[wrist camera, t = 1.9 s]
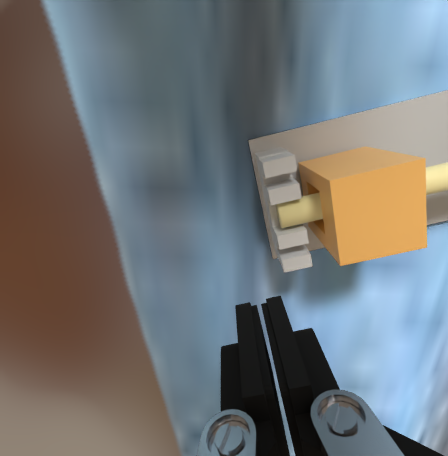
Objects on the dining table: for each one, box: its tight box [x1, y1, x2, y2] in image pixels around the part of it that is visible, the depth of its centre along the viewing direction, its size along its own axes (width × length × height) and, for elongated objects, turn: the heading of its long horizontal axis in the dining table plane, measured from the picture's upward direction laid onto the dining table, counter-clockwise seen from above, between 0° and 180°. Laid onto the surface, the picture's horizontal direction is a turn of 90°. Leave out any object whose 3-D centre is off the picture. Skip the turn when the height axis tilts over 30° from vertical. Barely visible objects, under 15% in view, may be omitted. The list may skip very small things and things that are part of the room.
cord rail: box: [248, 90, 448, 273], centre depth 21 cm, size 10×22×6 cm, turn 104°
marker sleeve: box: [298, 146, 427, 266], centre depth 20 cm, size 5×5×7 cm
